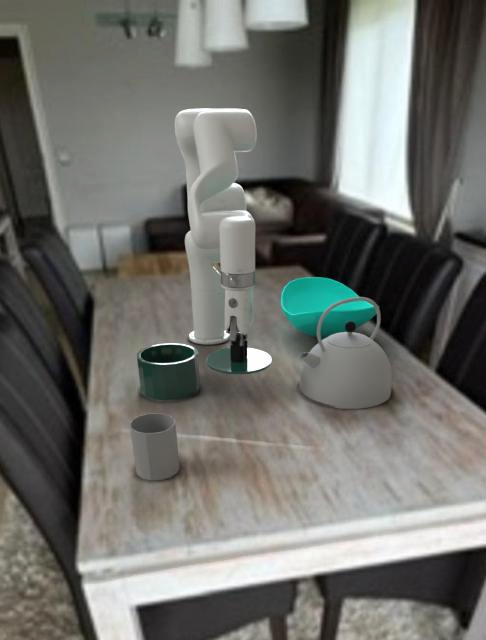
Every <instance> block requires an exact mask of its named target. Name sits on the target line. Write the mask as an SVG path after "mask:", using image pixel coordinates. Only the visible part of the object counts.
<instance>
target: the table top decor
mask: <svg viewBox="0 0 486 640" xmlns="http://www.w3.org/2000/svg"><path fill="white" fill-rule="evenodd" d="M355 297H360V296H359V295H358V294H357V293H356V292H355V291H354V290H353V289H351V288H350V287H348V285H347V286H346V285H345V284H344V283H341V282H340V281H337V280H334V279H332V278H328V277H320V276H307V277H299V278H295V279H293V280H290V281H289V282H288V283H287V284H286V285H285V286H284V287H283V288H282V292H281V295H280V306H281V307H280V308H281V311H282V313H283V315H284V317H286V319H287V320H288V322H289V323H290V324H291V325H292V326H293V327H294V328H295V329H296V330H298V331H300V332H301V333H304V334H305V335H308V336H310V337H314V338H317V326H318V322H319V320H320V318H321V316H322V314H323V313H324V312H325V311H326V309H328V308H329V307H330V306H331V305H333V304H335V303H337V302H339V301H342V300H345V299H349V298H355ZM377 306H378V307H379V308H380V306H379V305H377ZM375 316H377V312H376V309H375V307H374V306H373V305H372V304H371V303H369V302H367V301H352V302H348V303H344V304H341V305H339V306H337V307H335V308H333V309H332V310H331V311H330V312H329V313H328V314H327V315H326V316H325V317H324V319H323V322H322V325H321V329H320V336H321V340H323V339H325V338H327V337H329V336H330V335H333V334H336V333H341V332H347V331H346V330H345V324H346V323H347V322H348V321H353V322H354V323H355V324H356V329H358V328H360V327H362V326H363V325H365V324H366V323H368V322H369V321H371V320H372V319H373V318H374V317H375Z"/></svg>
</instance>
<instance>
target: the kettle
mask: <svg viewBox="0 0 486 640" xmlns="http://www.w3.org/2000/svg"><path fill="white" fill-rule="evenodd" d="M352 301H366V302H368V303H370V304H371V305H373V306H374V307H375V309H376V312H377V314H376V325H375V329H374V330H373V332H372V334H371V336H370V337H368V336H367V335H365V334H363V333H361V332H360V333H359V332H355V331H356V329H357V328H356V324H355V323H354V322H353V321H348V322H347V323H346V324H345V330H346V331H347V332H341V333H336V334H333V335H330V336H329V337H327V338H325V339H321V336H320V329H321V325H322V322H323V319H324V317H325V316H326V315H327V314H328V313H329V312H330V311H331V310H332V309H333V308H335V307H337V306H339V305H341V304H344V303H348V302H352ZM378 306H379V305H378V304H377V303H376V302H375V301H374V300H373V299H371V298H369V297H365V296H359V297H355V298H349V299H345V300H342V301H339V302H337V303H335V304H333V305H331V306H330V307H329V308H328V309H326V311H325V312H324V313H323V314H322V316H321V318H320V320H319V322H318V326H317V337H316V338H317V344H315V345H314V347H312V349H311V350H310V351H303V352H302V353H301V354H300V355H299V359H300V360H302V361H303V364H302V367H301V371H300V379H299V389H300V391H301V392H302V394H303V395H304V396H305V397H307V398H309V399H311V400H313V401H316V402H319V403H322V404H325V405H330V406H331V407H332V408H334V409H343V410H345V409H346V410H358V409H367V408H373V407H377V406H380V405H381V404H384V403H385V402H386V401H388V400H389V399H390V397H391V394H392V385H393V372H392V366H391V362H390V360H389V358H388V356H387V354H386V352H385V351H384V350H383V348H382V347H381V346H380V345H379V344H378V343H377V342H376V341H374V339H375V337H376V336H377V334H378V332H379V330H380V325H381V319H382V318H381V310H380V306H379V307H378Z"/></svg>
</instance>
